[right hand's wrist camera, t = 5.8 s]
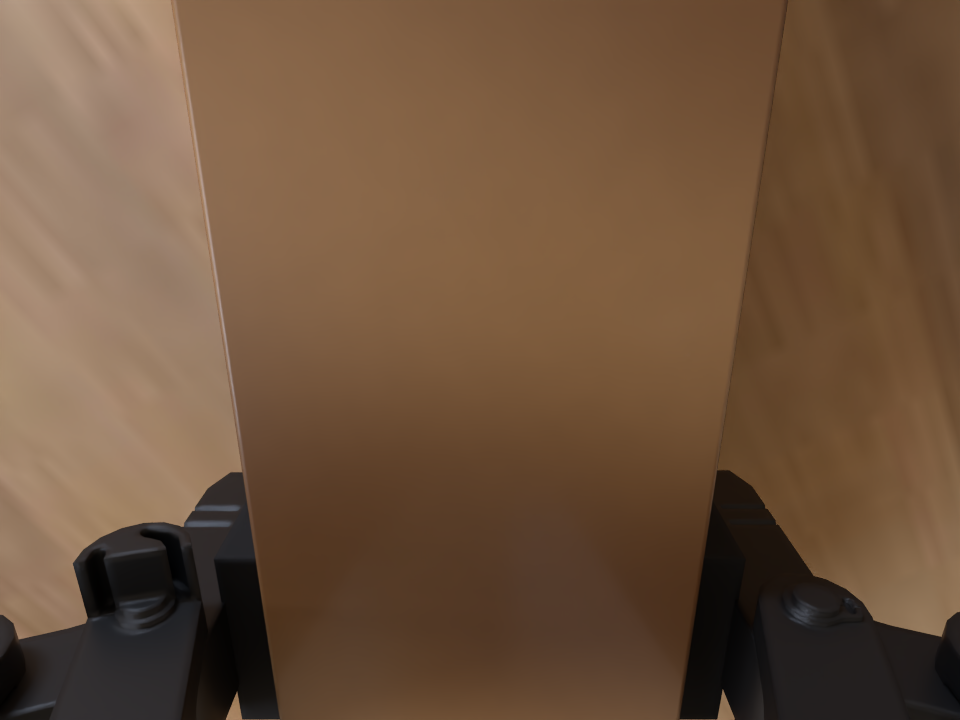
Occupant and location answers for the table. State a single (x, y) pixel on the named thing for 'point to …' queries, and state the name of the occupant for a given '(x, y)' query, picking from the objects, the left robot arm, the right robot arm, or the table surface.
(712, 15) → the post
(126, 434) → the table surface
